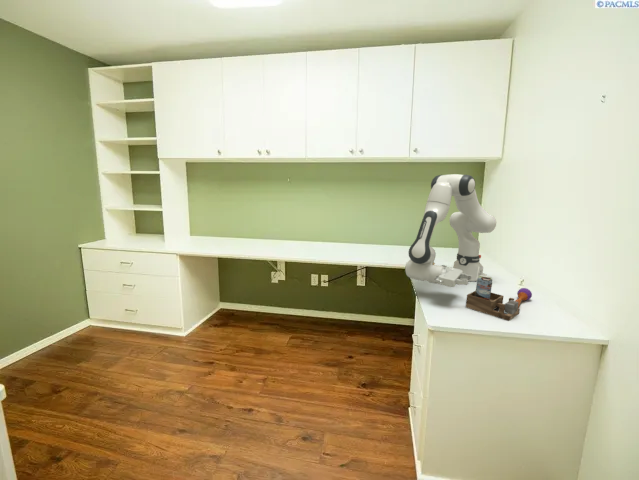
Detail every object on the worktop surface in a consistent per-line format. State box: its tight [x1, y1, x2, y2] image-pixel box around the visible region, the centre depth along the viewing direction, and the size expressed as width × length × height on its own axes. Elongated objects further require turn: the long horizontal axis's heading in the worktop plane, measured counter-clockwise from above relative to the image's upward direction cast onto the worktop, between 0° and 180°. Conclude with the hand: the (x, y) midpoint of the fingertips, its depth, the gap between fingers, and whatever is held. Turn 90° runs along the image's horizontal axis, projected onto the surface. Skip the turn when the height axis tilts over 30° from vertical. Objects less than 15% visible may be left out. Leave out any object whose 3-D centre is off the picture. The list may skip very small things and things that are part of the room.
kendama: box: [514, 287, 533, 309], centre depth 150 cm, size 6×6×20 cm
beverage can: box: [475, 275, 493, 301], centre depth 142 cm, size 6×7×12 cm
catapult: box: [465, 290, 521, 322], centre depth 141 cm, size 12×18×6 cm, turn 41°
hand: (469, 280), depth 145 cm, fingers open, 8 cm apart
